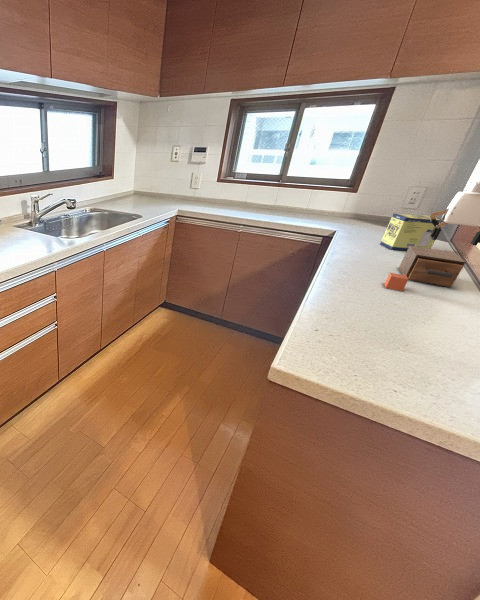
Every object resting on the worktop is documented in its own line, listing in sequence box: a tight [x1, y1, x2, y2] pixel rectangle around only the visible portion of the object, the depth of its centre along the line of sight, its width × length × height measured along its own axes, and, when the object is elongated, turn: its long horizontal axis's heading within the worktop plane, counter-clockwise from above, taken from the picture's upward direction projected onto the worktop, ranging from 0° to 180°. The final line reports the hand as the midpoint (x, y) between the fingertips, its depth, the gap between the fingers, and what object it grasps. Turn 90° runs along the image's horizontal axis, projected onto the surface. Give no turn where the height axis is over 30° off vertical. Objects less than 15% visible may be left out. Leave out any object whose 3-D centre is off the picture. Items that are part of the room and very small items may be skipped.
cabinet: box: [398, 246, 466, 288], centre depth 122 cm, size 15×13×10 cm
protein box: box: [380, 213, 443, 252], centre depth 155 cm, size 10×16×16 cm
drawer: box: [408, 257, 464, 288], centre depth 118 cm, size 18×11×8 cm, turn 145°
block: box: [383, 272, 410, 292], centre depth 113 cm, size 4×4×4 cm
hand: (452, 241), depth 109 cm, fingers open, 9 cm apart
